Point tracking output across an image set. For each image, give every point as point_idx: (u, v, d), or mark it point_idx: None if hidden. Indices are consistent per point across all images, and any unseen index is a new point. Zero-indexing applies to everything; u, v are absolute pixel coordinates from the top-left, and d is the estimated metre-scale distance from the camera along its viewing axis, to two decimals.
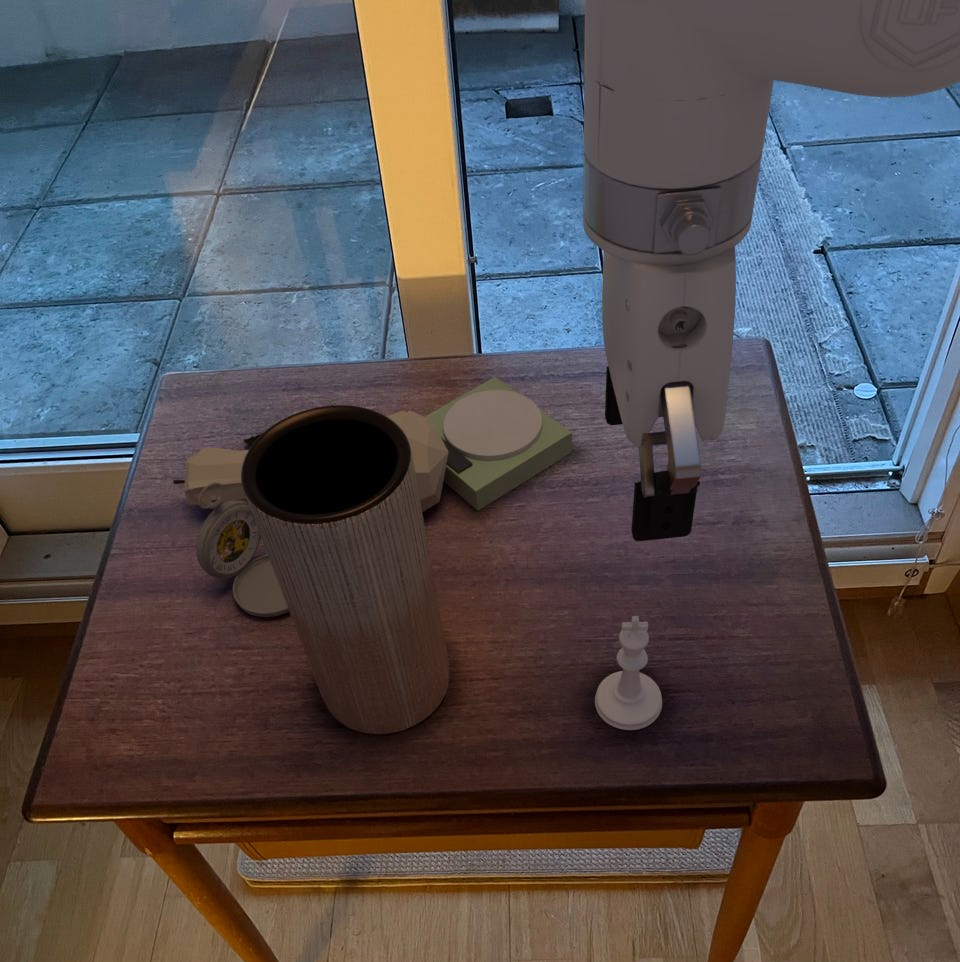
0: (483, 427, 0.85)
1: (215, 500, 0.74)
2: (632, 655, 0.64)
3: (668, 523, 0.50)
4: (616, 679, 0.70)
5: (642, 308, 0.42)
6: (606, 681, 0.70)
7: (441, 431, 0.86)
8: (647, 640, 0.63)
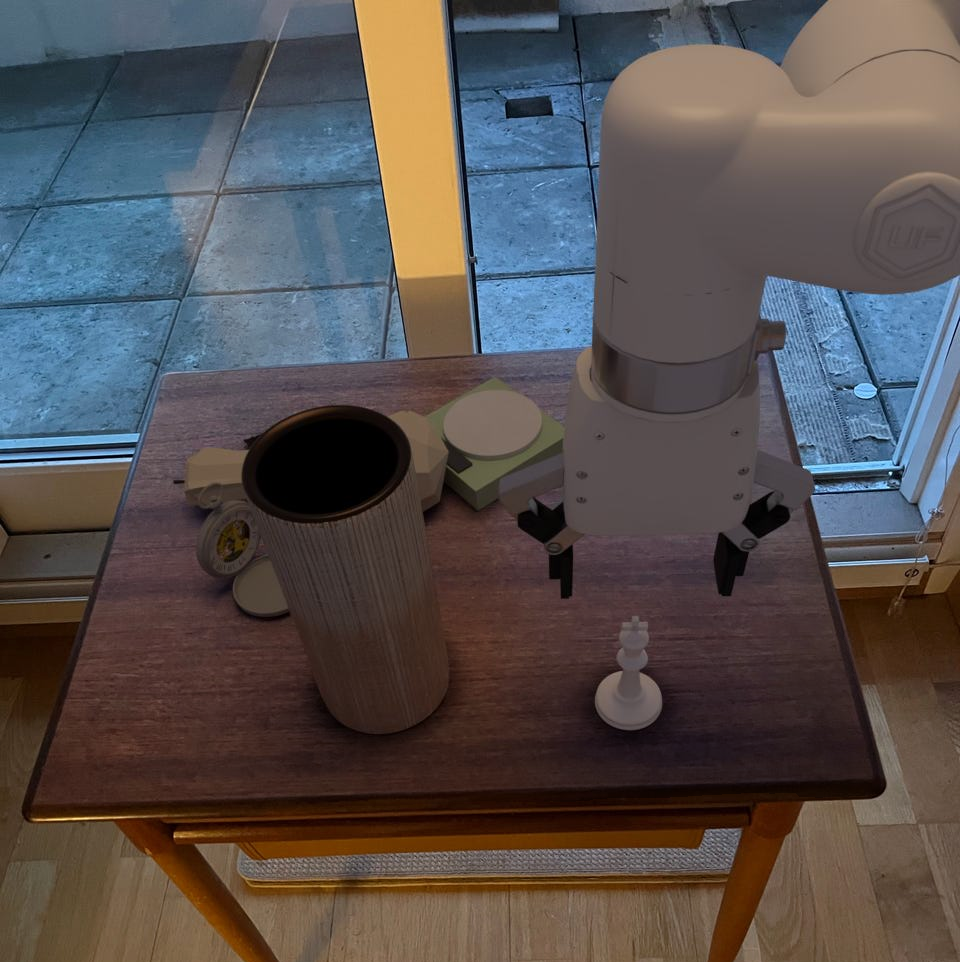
0: (483, 427, 0.85)
1: (215, 500, 0.74)
2: (632, 655, 0.64)
3: None
4: (616, 679, 0.70)
5: (756, 418, 0.46)
6: (606, 681, 0.70)
7: (441, 431, 0.86)
8: (647, 640, 0.63)
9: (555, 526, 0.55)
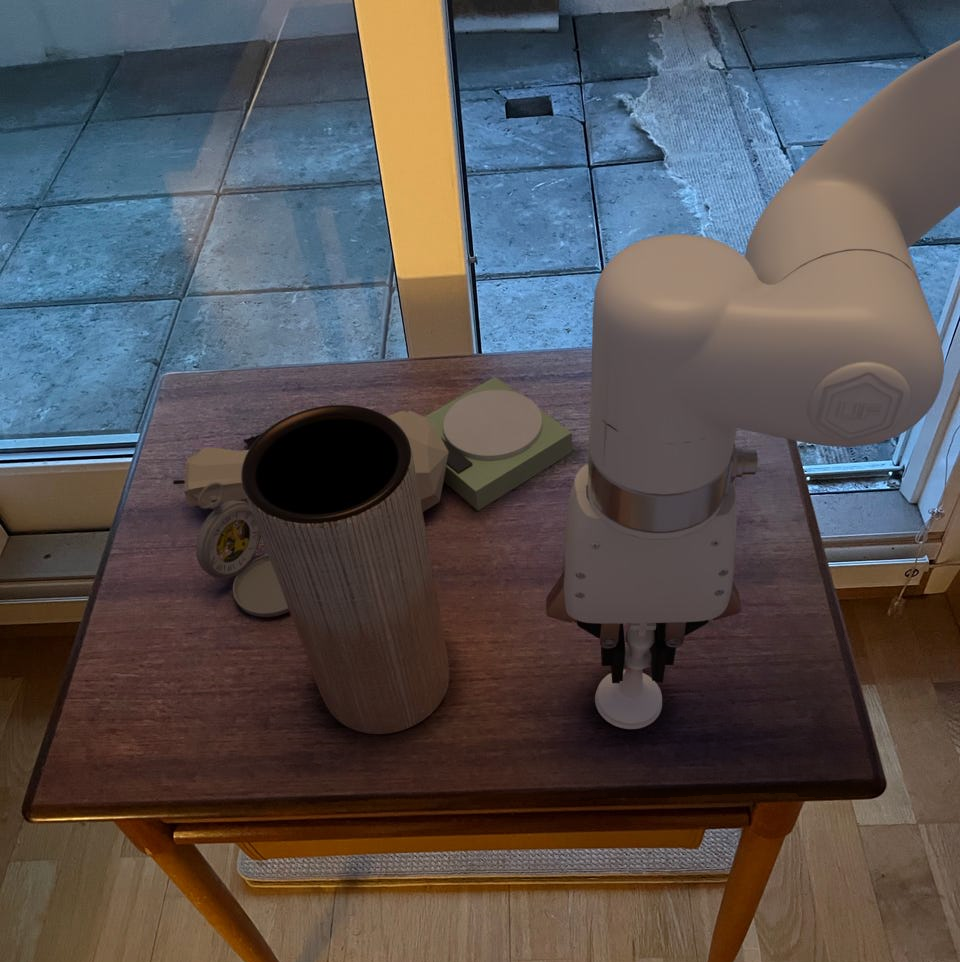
0: (483, 427, 0.85)
1: (215, 500, 0.74)
2: (638, 653, 0.64)
3: None
4: None
5: (733, 530, 0.53)
6: (607, 680, 0.70)
7: (441, 431, 0.86)
8: (654, 639, 0.63)
9: None
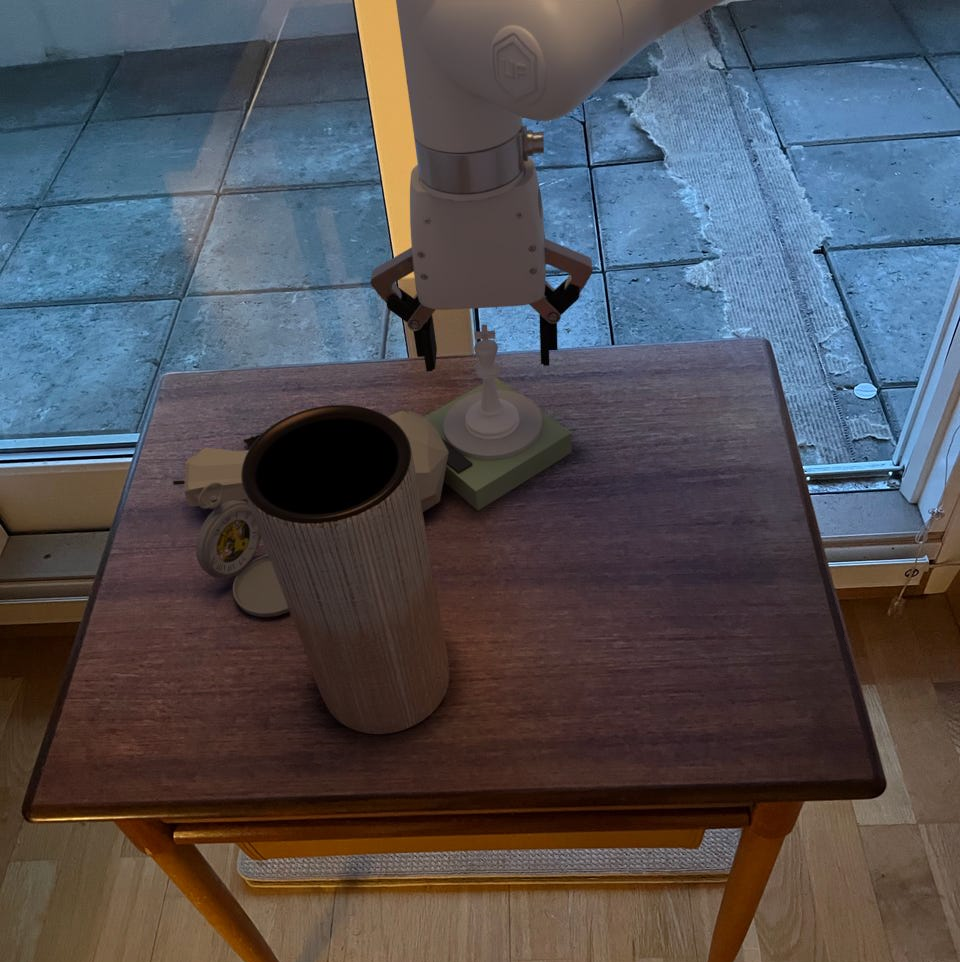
0: None
1: (215, 500, 0.74)
2: (485, 363, 0.80)
3: None
4: None
5: (533, 204, 0.67)
6: (474, 405, 0.86)
7: (441, 431, 0.86)
8: (496, 348, 0.79)
9: (415, 308, 0.76)
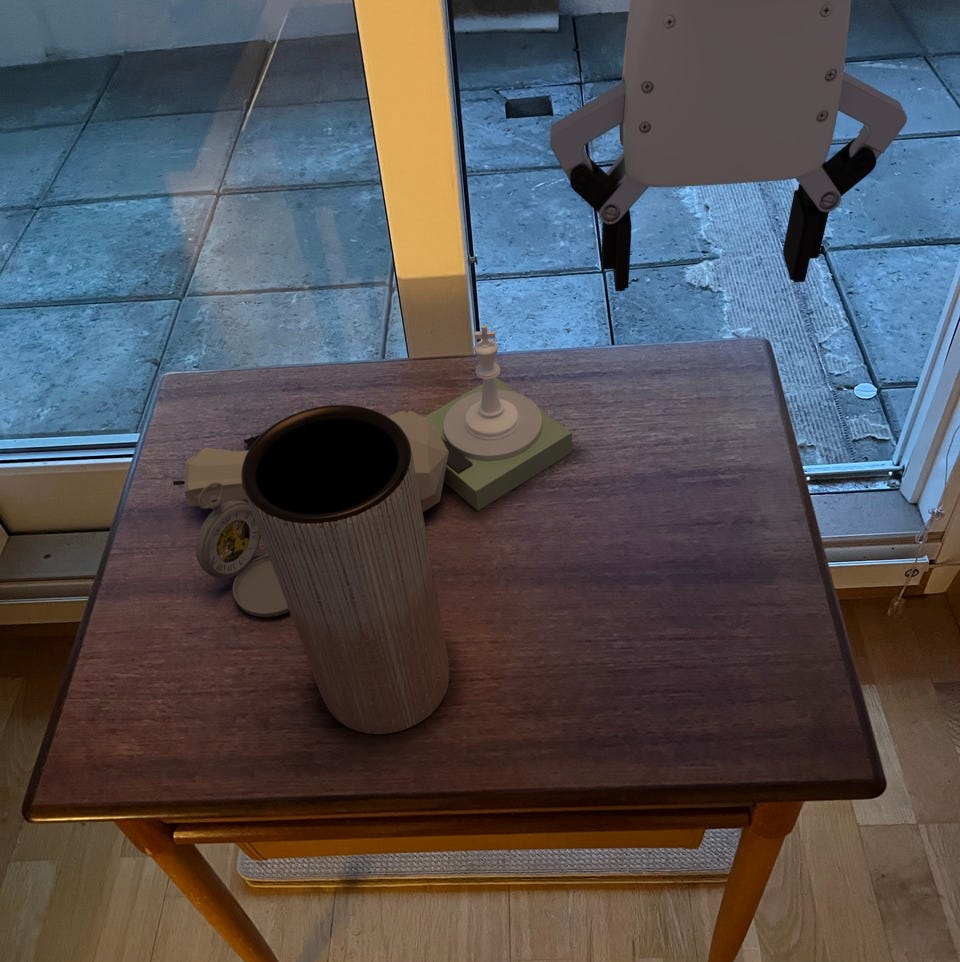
0: None
1: (215, 500, 0.74)
2: (485, 363, 0.80)
3: None
4: None
5: None
6: (474, 405, 0.86)
7: (441, 431, 0.86)
8: (496, 348, 0.79)
9: (612, 189, 0.49)
